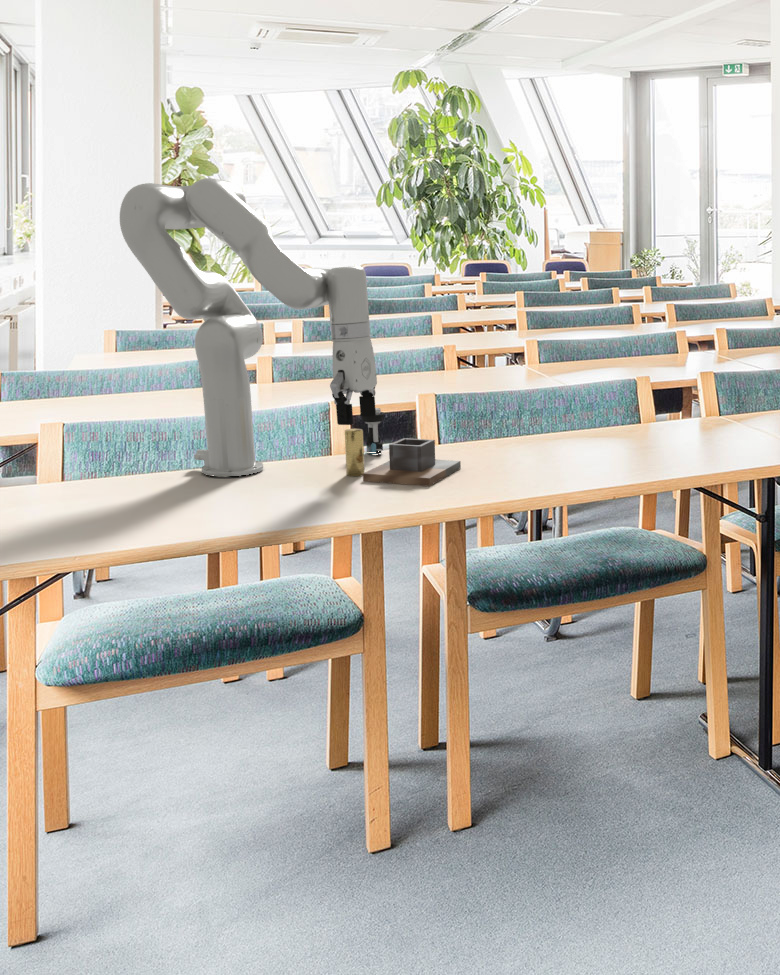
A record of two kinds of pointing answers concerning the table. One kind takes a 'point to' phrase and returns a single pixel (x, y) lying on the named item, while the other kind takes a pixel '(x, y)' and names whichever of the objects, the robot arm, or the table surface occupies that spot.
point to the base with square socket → (412, 464)
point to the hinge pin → (354, 452)
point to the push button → (374, 432)
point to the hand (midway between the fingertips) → (357, 420)
